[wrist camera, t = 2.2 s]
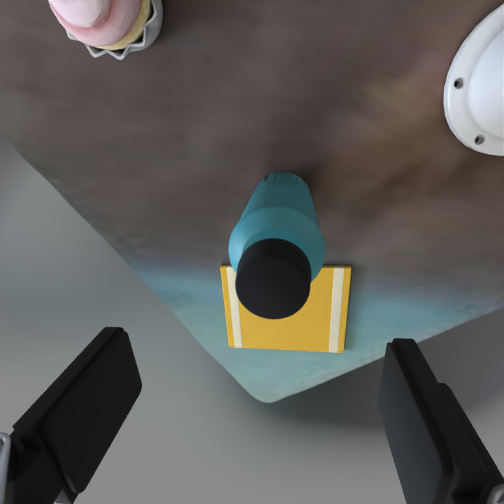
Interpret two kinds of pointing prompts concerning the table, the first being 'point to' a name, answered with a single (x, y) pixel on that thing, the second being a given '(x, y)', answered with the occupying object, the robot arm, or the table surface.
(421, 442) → the robot arm
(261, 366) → the table surface
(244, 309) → the towel
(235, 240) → the beverage bottle
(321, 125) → the table surface
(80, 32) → the cupcake
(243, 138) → the table surface
